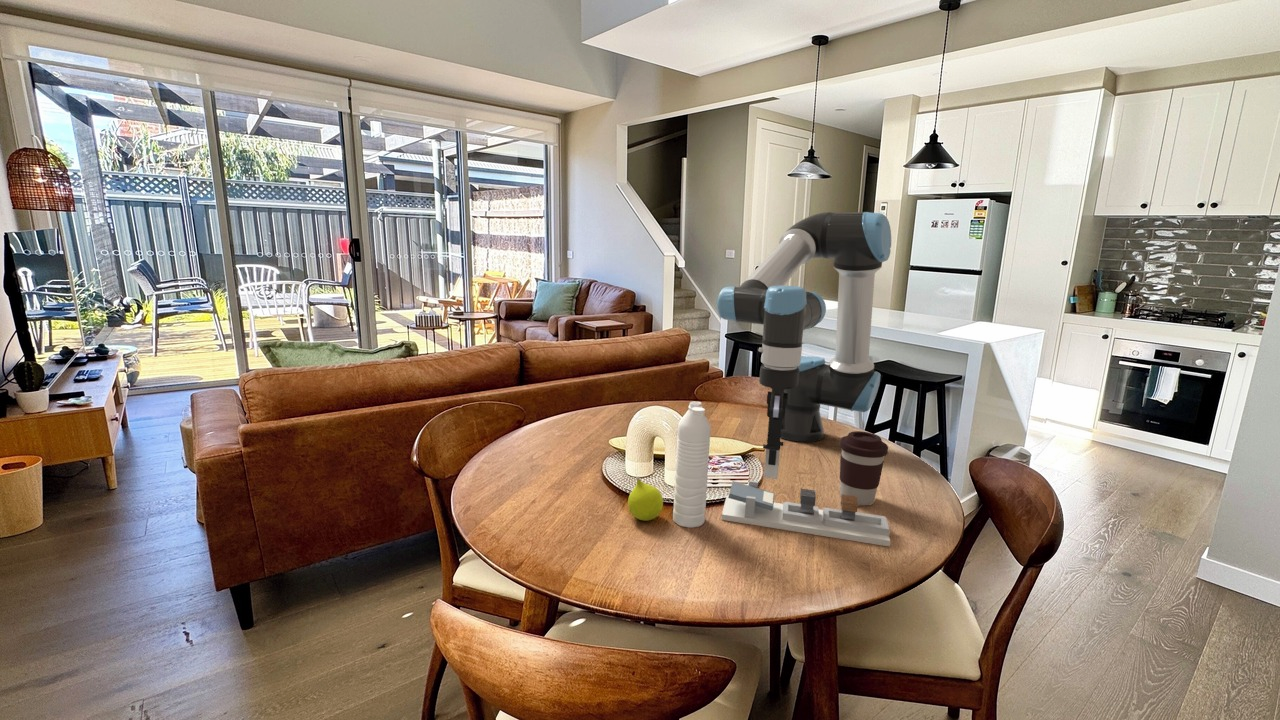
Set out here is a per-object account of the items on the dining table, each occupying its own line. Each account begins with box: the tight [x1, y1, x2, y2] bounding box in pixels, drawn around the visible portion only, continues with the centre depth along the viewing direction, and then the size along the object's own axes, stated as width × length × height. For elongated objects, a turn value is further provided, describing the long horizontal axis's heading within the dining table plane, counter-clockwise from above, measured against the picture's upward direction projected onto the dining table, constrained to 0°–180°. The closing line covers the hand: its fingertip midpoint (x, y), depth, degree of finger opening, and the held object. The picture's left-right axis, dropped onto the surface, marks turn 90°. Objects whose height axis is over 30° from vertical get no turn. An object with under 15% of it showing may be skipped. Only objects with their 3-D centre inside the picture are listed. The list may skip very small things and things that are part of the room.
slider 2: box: [840, 494, 859, 521], centre depth 112 cm, size 3×3×5 cm
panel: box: [721, 479, 891, 548], centre depth 114 cm, size 9×32×6 cm, turn 75°
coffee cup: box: [839, 430, 889, 507], centre depth 125 cm, size 10×10×15 cm
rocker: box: [728, 480, 775, 511], centre depth 117 cm, size 7×9×1 cm
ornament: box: [627, 471, 664, 522], centre depth 113 cm, size 7×7×10 cm
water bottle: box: [672, 400, 712, 529], centre depth 110 cm, size 9×6×25 cm
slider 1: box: [799, 488, 817, 515], centre depth 114 cm, size 3×3×5 cm
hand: (770, 476), depth 115 cm, fingers closed
